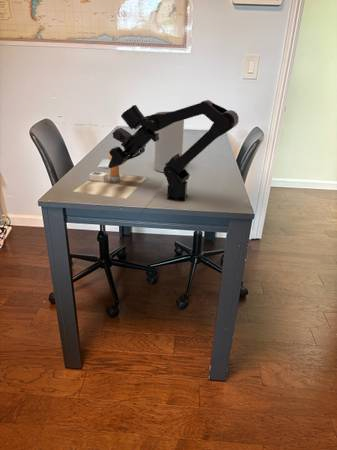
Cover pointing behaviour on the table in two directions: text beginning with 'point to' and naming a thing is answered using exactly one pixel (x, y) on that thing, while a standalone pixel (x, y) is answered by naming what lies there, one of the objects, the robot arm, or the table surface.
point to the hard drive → (104, 164)
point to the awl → (114, 174)
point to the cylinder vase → (168, 144)
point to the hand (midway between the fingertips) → (115, 164)
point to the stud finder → (98, 176)
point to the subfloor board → (112, 186)
